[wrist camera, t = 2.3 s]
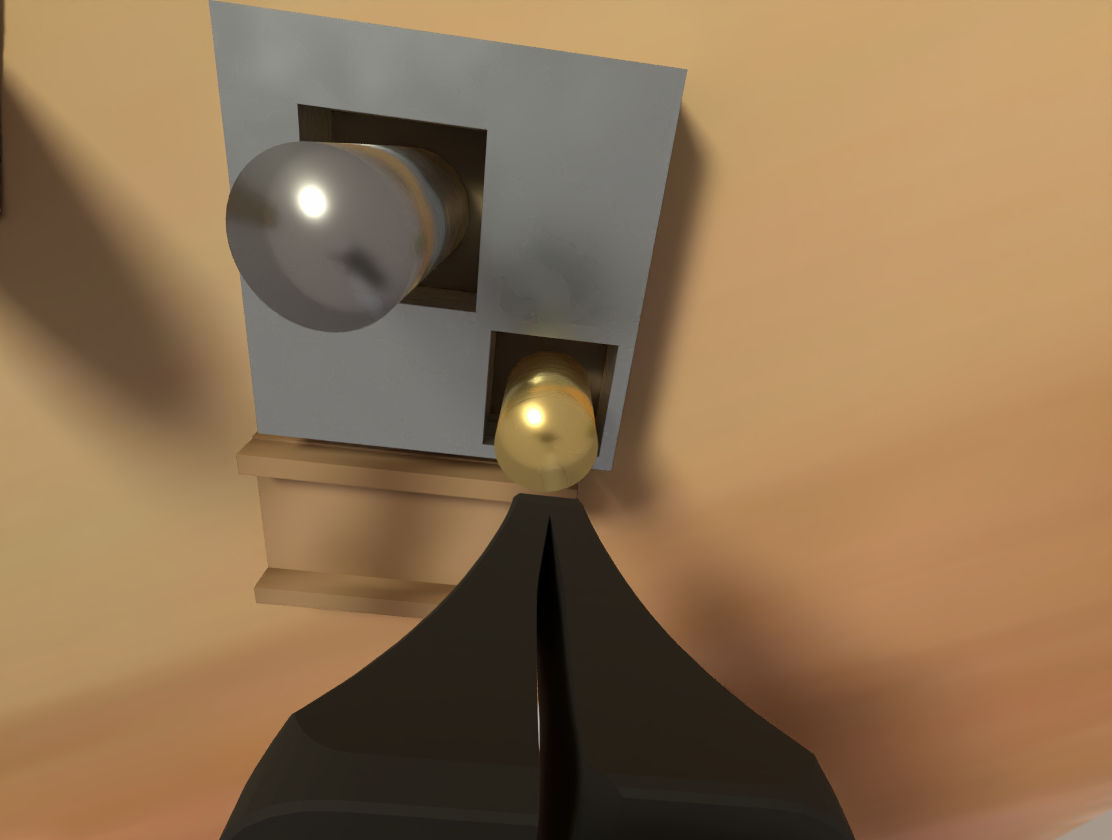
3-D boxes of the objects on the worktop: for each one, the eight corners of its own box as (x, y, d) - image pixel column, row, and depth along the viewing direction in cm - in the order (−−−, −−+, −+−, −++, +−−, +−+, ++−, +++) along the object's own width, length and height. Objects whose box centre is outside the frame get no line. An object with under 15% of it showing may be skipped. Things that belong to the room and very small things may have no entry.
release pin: (596, 356, 18) (605, 406, 15) (583, 432, 20) (589, 496, 16) (509, 346, 18) (498, 394, 15) (502, 424, 19) (490, 485, 16)
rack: (576, 457, 22) (578, 487, 20) (554, 594, 25) (554, 632, 23) (265, 424, 22) (235, 451, 20) (280, 568, 25) (256, 604, 23)
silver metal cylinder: (472, 154, 18) (413, 155, 10) (466, 270, 19) (411, 341, 12) (355, 139, 17) (214, 128, 10) (358, 257, 19) (237, 321, 12)
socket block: (669, 80, 17) (687, 69, 15) (605, 438, 22) (611, 471, 20) (257, 21, 16) (208, 0, 14) (289, 403, 21) (258, 433, 19)
